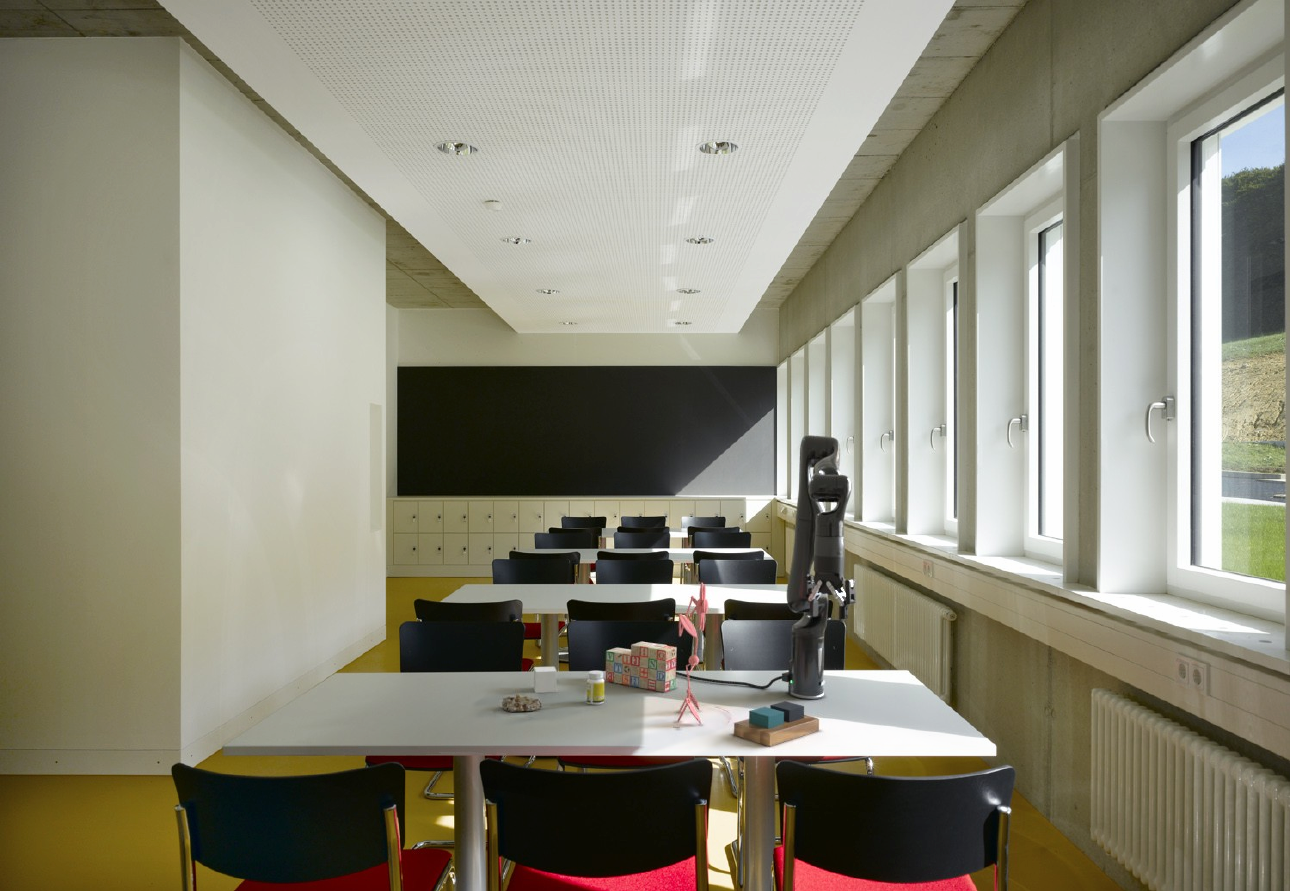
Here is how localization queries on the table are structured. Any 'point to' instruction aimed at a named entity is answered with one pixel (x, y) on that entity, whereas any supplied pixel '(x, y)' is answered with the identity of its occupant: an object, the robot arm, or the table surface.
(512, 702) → the mineral rock
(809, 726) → the block
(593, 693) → the supplement bottle
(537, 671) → the white cube
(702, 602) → the figurine
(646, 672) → the stack of blocks
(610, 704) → the table surface
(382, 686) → the table surface
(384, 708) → the table surface
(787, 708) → the dark grey cube
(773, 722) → the teal stepped block
